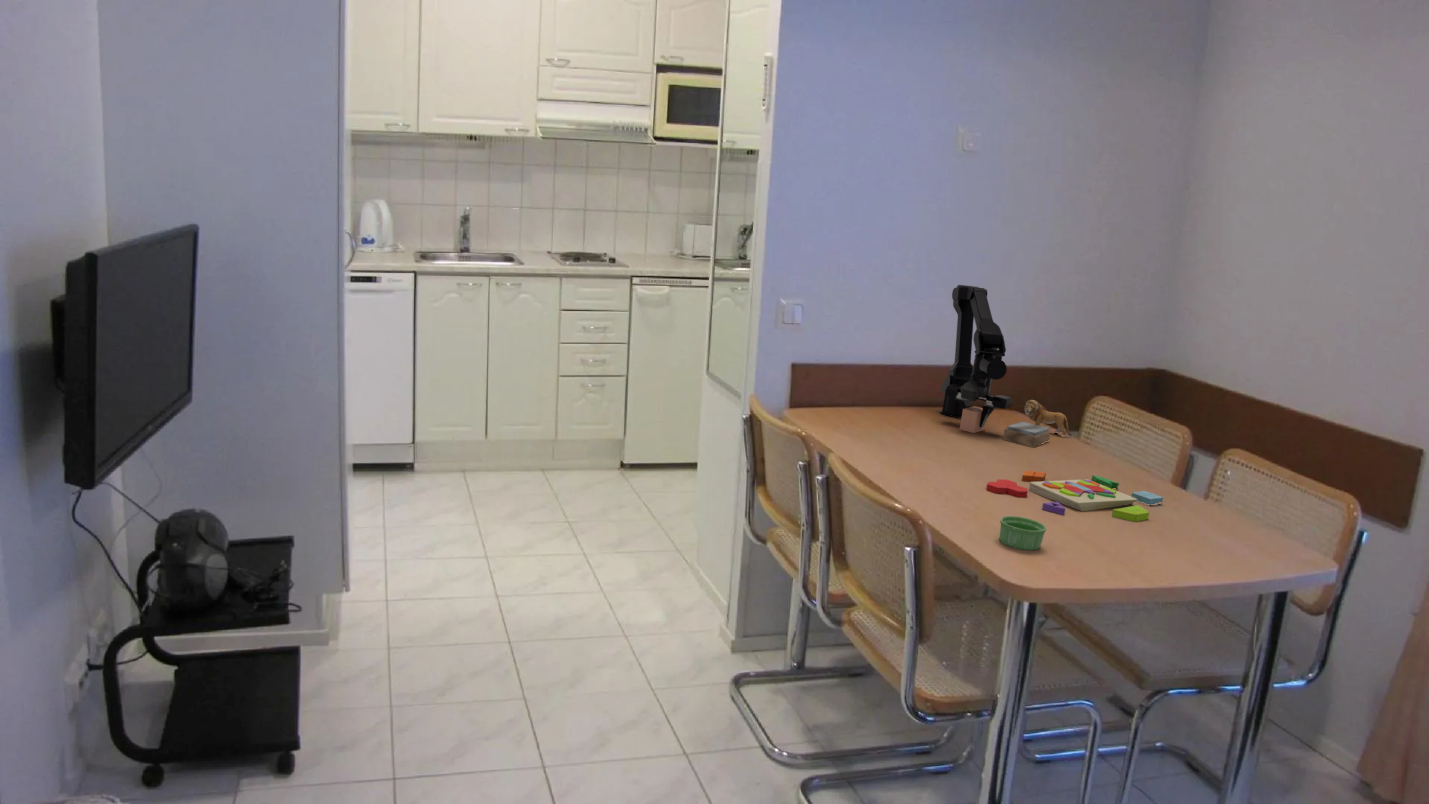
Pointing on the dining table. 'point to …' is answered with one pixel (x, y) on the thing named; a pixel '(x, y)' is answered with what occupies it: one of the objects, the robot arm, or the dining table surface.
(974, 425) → the terracotta brick
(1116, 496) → the pattern blocks set
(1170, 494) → the dining table surface
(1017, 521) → the ramekin
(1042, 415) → the lion figurine
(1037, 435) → the base brick
